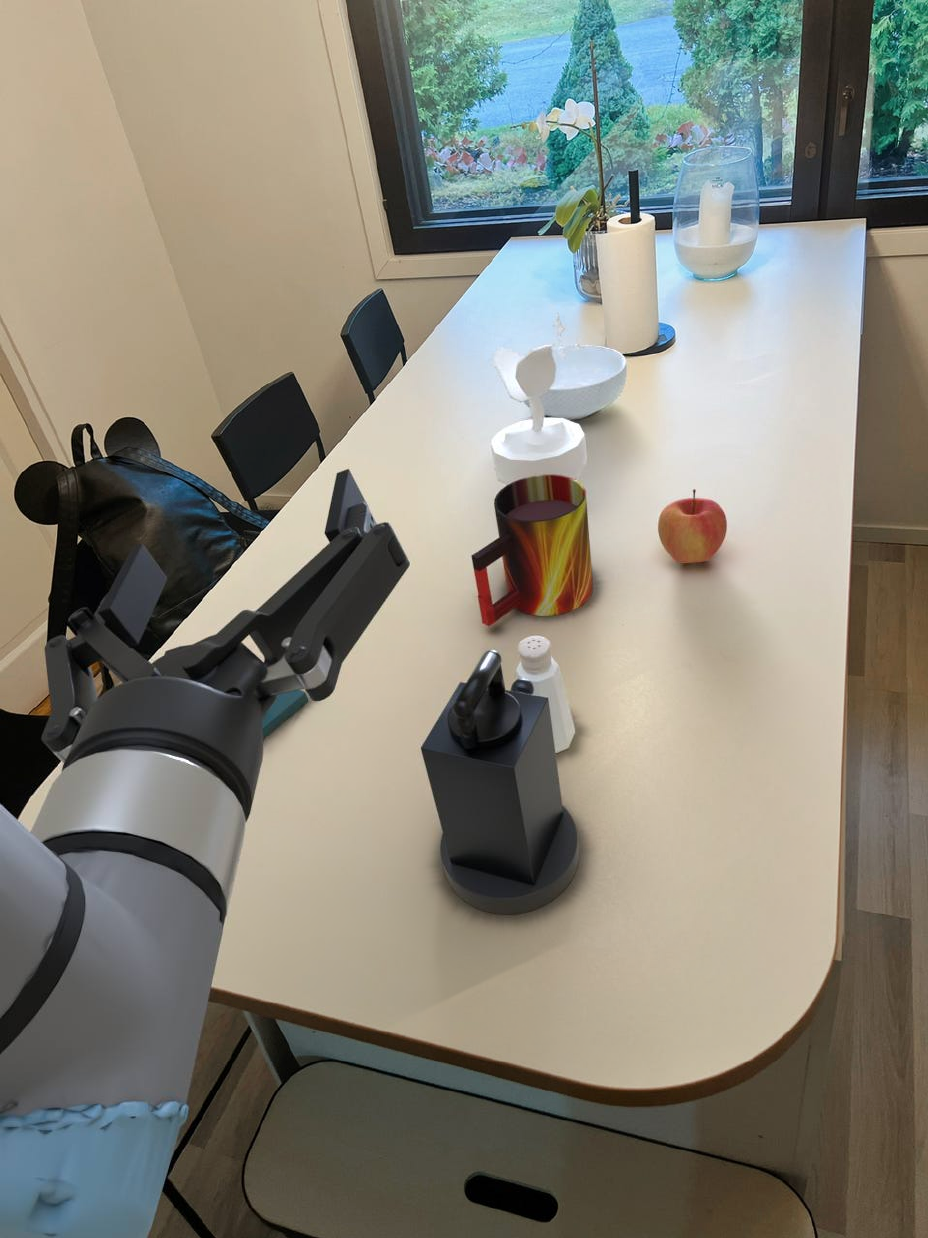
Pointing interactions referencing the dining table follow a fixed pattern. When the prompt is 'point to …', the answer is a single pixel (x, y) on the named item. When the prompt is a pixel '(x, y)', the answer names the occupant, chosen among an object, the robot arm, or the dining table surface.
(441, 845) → the kettle base
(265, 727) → the switch block
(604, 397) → the cereal bowl
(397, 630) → the dining table surface
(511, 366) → the potted plant
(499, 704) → the kettle
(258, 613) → the robot arm
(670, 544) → the apple
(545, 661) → the salt shaker
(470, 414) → the dining table surface
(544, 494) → the mug
